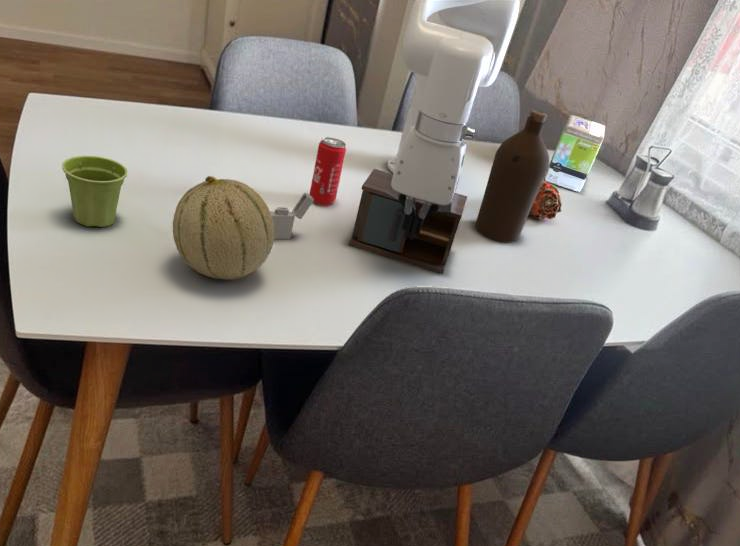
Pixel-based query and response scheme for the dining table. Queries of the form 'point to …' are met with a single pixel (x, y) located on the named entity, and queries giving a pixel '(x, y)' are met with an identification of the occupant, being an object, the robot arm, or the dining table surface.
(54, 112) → the dining table surface
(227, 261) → the cantaloupe
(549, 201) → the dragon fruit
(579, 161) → the tea box
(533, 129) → the olive oil
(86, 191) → the plant pot
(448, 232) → the cabinet
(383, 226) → the tinted door with handle
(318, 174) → the beverage can
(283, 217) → the lighter
